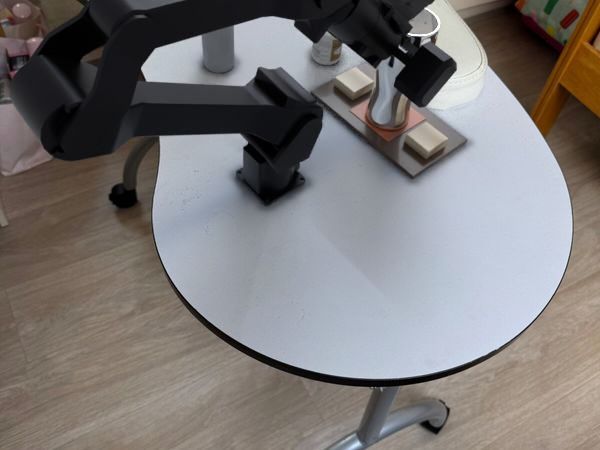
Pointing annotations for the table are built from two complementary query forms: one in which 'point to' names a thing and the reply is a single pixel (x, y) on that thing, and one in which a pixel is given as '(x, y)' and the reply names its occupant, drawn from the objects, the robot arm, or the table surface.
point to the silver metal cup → (387, 99)
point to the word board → (391, 143)
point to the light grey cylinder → (219, 50)
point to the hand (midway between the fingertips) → (406, 64)
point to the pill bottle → (327, 50)
